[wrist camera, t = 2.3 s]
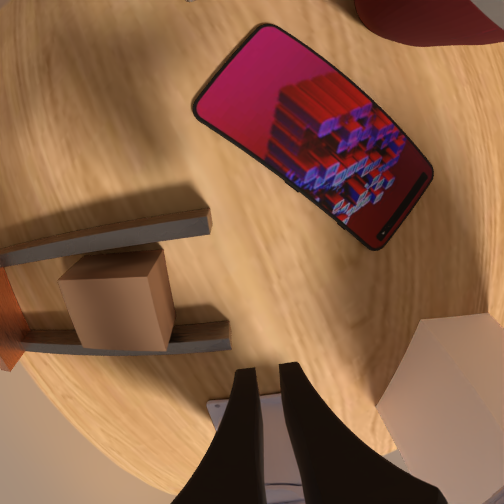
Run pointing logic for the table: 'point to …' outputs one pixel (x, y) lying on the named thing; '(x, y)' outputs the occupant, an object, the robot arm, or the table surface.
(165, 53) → the table surface
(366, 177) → the smartphone
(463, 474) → the milk
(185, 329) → the guide lane
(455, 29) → the mug
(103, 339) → the block
